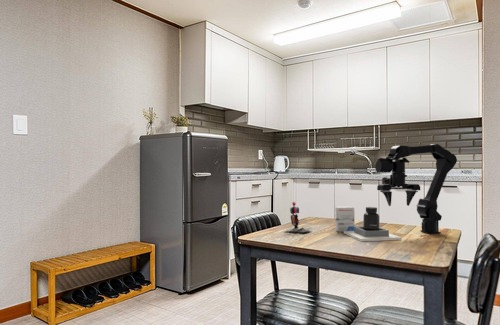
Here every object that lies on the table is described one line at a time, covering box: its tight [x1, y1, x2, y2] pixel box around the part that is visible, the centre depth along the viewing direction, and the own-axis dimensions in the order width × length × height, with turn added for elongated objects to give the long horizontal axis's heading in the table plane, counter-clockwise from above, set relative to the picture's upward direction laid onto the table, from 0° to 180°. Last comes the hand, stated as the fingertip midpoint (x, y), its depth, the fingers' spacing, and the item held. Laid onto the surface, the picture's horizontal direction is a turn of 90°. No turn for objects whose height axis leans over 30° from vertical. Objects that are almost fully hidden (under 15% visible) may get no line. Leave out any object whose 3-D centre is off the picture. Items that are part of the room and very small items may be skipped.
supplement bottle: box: [362, 206, 380, 231], centre depth 159 cm, size 7×7×12 cm
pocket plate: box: [343, 226, 402, 242], centre depth 159 cm, size 18×18×4 cm
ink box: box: [334, 206, 356, 233], centre depth 173 cm, size 9×5×12 cm, turn 84°
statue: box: [283, 201, 312, 234], centre depth 172 cm, size 11×9×15 cm
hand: (398, 205), depth 165 cm, fingers open, 9 cm apart
